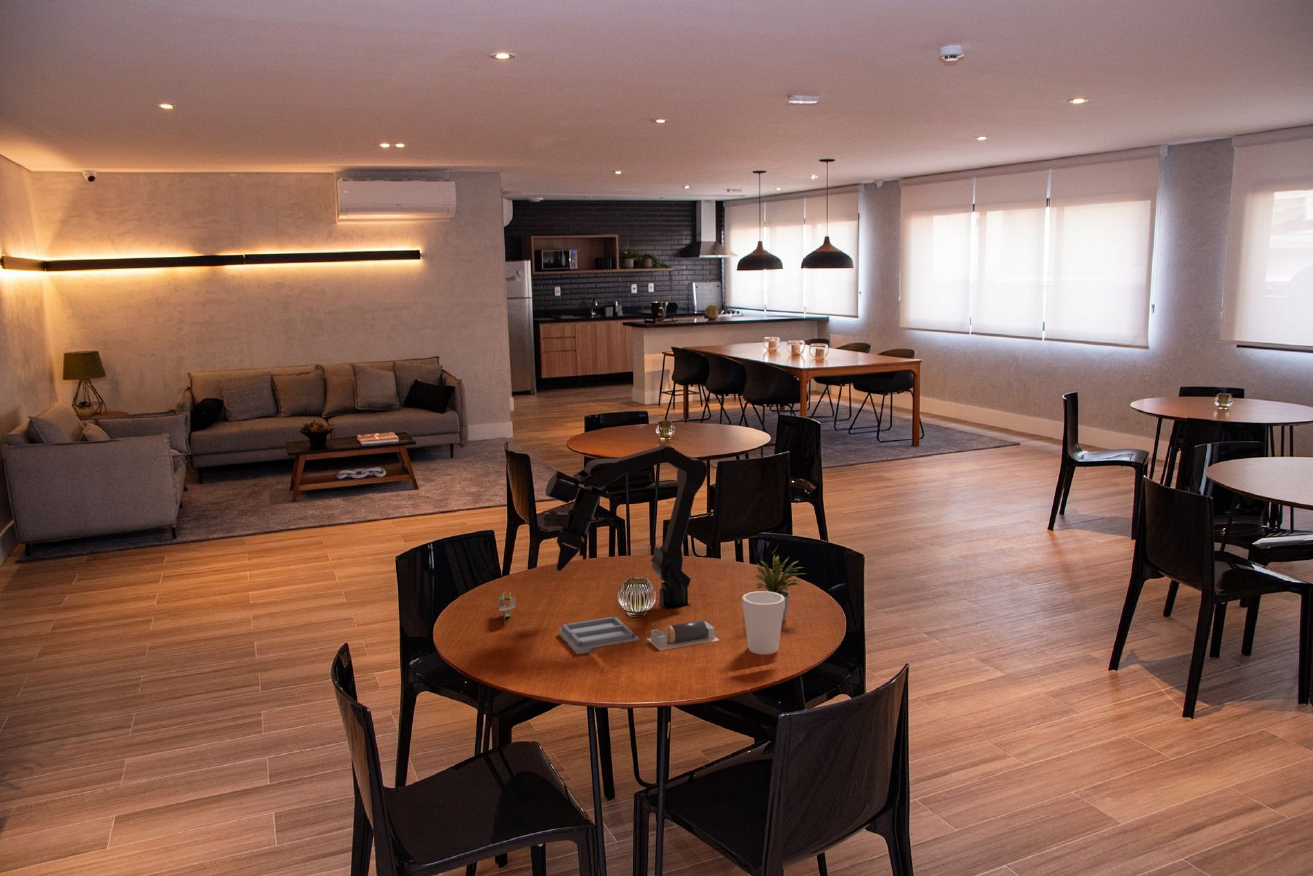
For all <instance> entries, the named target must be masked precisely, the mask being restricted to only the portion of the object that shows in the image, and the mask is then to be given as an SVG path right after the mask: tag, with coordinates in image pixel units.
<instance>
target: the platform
mask: <svg viewBox="0 0 1313 876" xmlns="http://www.w3.org/2000/svg"><path fill="white" fill-rule="evenodd" d="M511 595H512V594H511V591H510V592H509V591H508V592H503V594H502V595H500V596H499V601H498V603H499V604H498V611H499V612H503V626H505V625H506V617H512V609H514V608H516V597H515V596H511ZM506 601H509V604H506Z"/></svg>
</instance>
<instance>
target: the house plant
mask: <svg viewBox="0 0 1313 876" xmlns="http://www.w3.org/2000/svg"><path fill="white" fill-rule="evenodd" d="M790 556H791V555H790ZM790 556H788V557H787V558H786V559H785V560H784V561H783V562H782V563H781V562H780V555H777V556H776V554H775V553H774V554H773V557H772V570H771V569H770V567H769V565H768V564H767V563H766V562H764V561H763V560H761V559H759V562H761V564H762V566H761V565H760V564H759V563H756V565H758V566H756V565H754V568H756V569H757V570H758V571H759V573H760V574H755V575H754V577H755V578H757V579H759V580H761V581H762V582H763V583H764V584H763V583H762V582H758V583H757V584H756V586H755V587H756V590H758V589H762V588H766V591H769V592H775V593H778V594H781V595H783V596H784V598H785V609H784V611H783V618H782V622H783V621H785V620H786V619H787V615H788V614H787V613H788V609H789V608H788V606H789V602H790V598H791V597H790V596H791V594H790V593H789V592H788V590H789V587H790V586H800V584H801V583H802V580H801V579H793V577H796V576H798V575H799V576H800V575H807V573H806V572H805V573H803V572H799V570H797V569H802V568H805V567H804V566H802V567H801V566H798V567H793V566H794V565H795V564H797V563H798V562H799V560H797V561H793V562H792V563H791V564H789V566H787V567H786V569H784V571H783V568H784V567H785V565H786V563H787V561H788V560H789V558H790ZM762 567H763V568H762ZM782 571H783V572H782ZM792 572H794V573H792ZM790 578H792V579H790ZM789 579H790V580H789ZM798 582H799V583H800V584H799V583H798Z"/></svg>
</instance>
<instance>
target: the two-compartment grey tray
mask: <svg viewBox="0 0 1313 876" xmlns="http://www.w3.org/2000/svg"><path fill="white" fill-rule="evenodd" d="M558 635H559V636H560V637H561V638H562V640H563V641H566V642H567V643H568V644H567V643H566V642H565V643H566V644H567V645H568V646H569V647H570V649H572V650H573V651H574V653H575V654H576V655H577V654H579V655H583V654H584V655H585V654H590V653H595V652H596V651H595V650H594V648H596V649H597V648H601V647H608V646H614V645H619V644H626V643H630V642H631V643H632V642H637V641H639V640H640V638H639V637H638V636H637V635H636V633H635V632H634V631H633V630H631V628H629V627H628V626H627V625H625V623H623V622H622V621H621V619H619V618H618V617H617V616H610V617H603V618H595V619H591V620H584V621H578V622H571V623H564V624H562V625H561V628H558Z"/></svg>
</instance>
